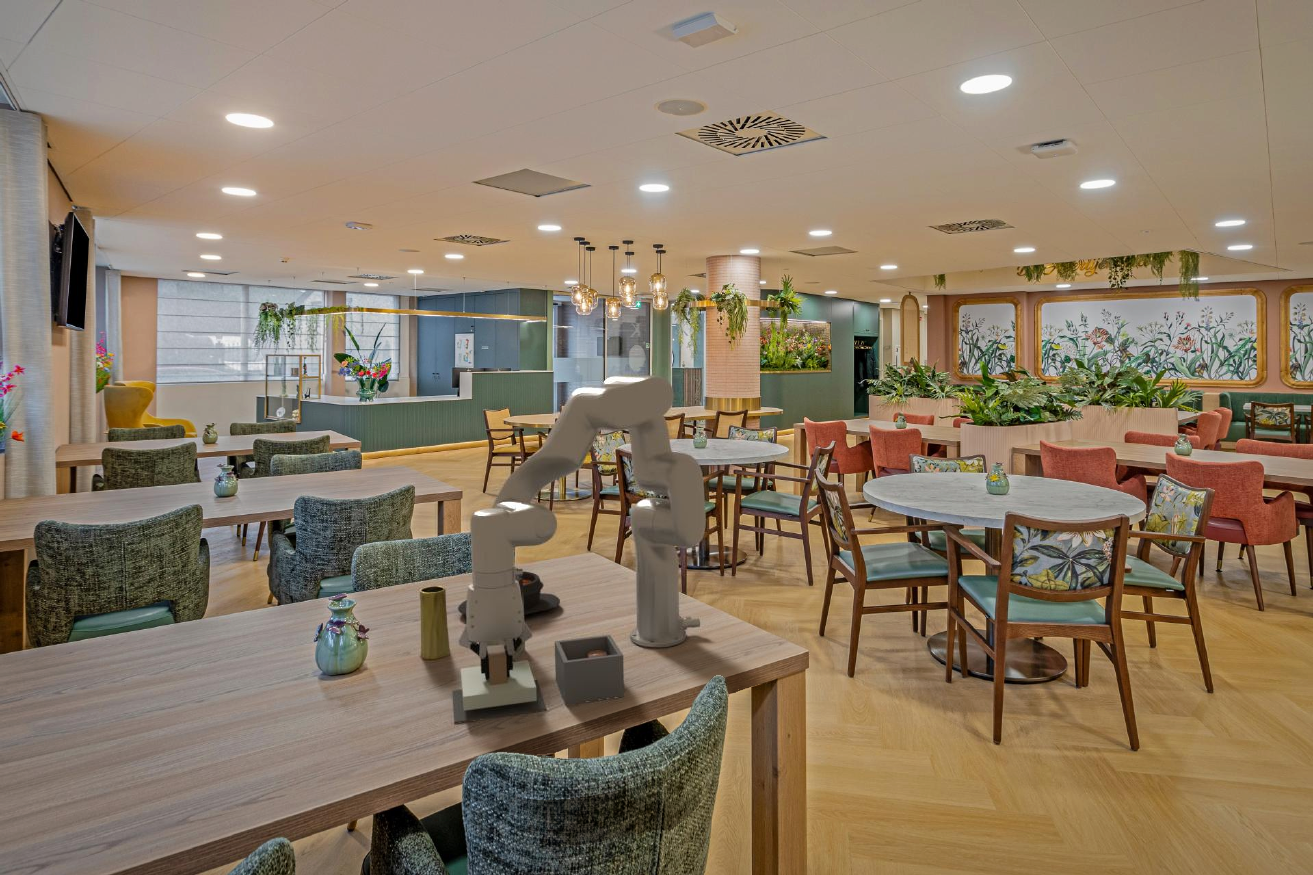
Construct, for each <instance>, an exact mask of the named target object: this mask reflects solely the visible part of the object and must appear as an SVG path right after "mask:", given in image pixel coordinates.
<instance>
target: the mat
mask: <svg viewBox="0 0 1313 875" xmlns="http://www.w3.org/2000/svg"><path fill="white" fill-rule="evenodd" d="M534 682H535V685H536V696H537V701H530V702H523V703H516V704H508V705H501V706H494V707H486V708H479V709H472V710H464V707H463V696H462V688H461V689H455V690H452V707H453V708H452V709H453V722H454V723H455V724H460V723H459V722H462V723H465V722H464V721H469V722H474V721H473V720H476V721H481V720H480V719H483V720H489V719H495V718H503V716H504V717H509V716H516V715H517V714H518V715H523V714H524V715H525V714H531V713H530V712H532V713H537V712H536V711H539V712H543V711H542V710H546V711H547V706H546V702H545V700H544V696H543V693H542V690H541V688H540V685H539V681H538V679H534ZM518 715H517V716H518Z"/></svg>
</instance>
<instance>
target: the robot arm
mask: <svg viewBox="0 0 1313 875" xmlns="http://www.w3.org/2000/svg"><path fill="white" fill-rule="evenodd" d="M674 395H675V394H674V389H673V387H672V385H671V383H670V382H669V381H668V380H667V379H666V378H665V377H662V376H659V375H655V374H654V375H652V374H651V375H649V374H648V375H647V374H644V375H643V374H641V375H640V374H639V375H637V374H620V375H619V374H617V375H616V374H615V375H612V376H609V377H608V378H606V379H605V380H603V382H602V384H601V386H583V387H578V388H576V389H575V390H574V391H572V393H571V394H570V396H569V397H568V399H567V400H566V402H565V404H564V406H563V407H562V409H561V411H560V413H559V415H558V416H557V418H556V421H555V423H554V424H553V426H552V428H551V429H550V431H549V434H548V435H547V437H546V439H545V441H544V442H543V443H542V444H543V445H542V446H541V447H540V448H539V449H538V450H537V451H536V452H534V453H533V454H531V456H530V457H528V458H527V459H525V461H524V462H523V463H522V464H520V465H519V466H518V467H517V468H515V470H514V471H513V472H512V473H511V474H510V475H509V476H508V478H507V479H506V480H505V482H504V484H503V485H502V487H501V489H500V490H499V492H498V494H497V496H496V498H495V500H494V502H493V505H492V506H491V508H484V509H483V508H482V509H479V510H476V511H474V512H473V513H472V515H471V517H470V522H469V524H470V547H471V548H470V550H471V571H472V572H471V573H472V574H471V575H472V576H471V577H472V583H470V584H468V588H467V594H466V600H467V603H466V615H465V616H466V618H465V622H466V623H465V624H466V625H465V628H464V630H463V631H462V633H461V635H460V637H459V639H458V644H459V646H460V647H463V648H465V649H469V650H471V651H472V652H473V653H474V654H475V655H477V656H478V657H479V658H480V666H481V674H484V673H485V678H486V680H487V679H489V658H488V654H487V651H486V648H487V642H488V641H497V640H505V641H506V648H505V653H506V664H507V677H510V670H513V662H514V661H513V654H514V652H515V651H516V649H517V648H518V647H519V646H520V645H521V644H522V643H523V642H525V643H526V642H527V641H528V640H529V639H531V638H532V637H533V633H532V631H531V630H530V628H529V626H528V625H527V622H525V616H523V605H522V598H521V591H520V586H519V582H518V581H517V580H515V579H517V577H519V576H523V571H524V569H523V568H518V567H516V566H515V549H516V548H517V547H533V546H540V545H543V544H546V543H547V542H548V541H550V540H551V539H552V538H553V537H554V536H555V534H556V532H557V528H558V521H557V520H558V519H557V517H556V515H555V514H554V512H553V511H552V510H550V509H549V508H548V507H546V506H543V505H541V504H536V503H532V501H533V499H534V498H535V497H536V496H537V495H538V493H539V492H541V490H542V489H543V488H545V487H546V486H548V485H549V484H551V483H553V482H554V481H557V480H559V479H562V478H564V477H565V478H566V477H568V476H569V475H571V474H573V473H575V472H577V471H579V470H580V469H581V467H582V466H583V465H584V463H585V460H586V458H587V456H588V454H589V452H590V450H591V449H592V446H593V445H594V443H595V440H596V439H597V437H598V435H599V434H600V432H601V431H611V432H617V431H624V430H627V431H628V435H629V440H630V448H631V460H632V461H631V464H632V474H633V480H634V484H635V485H636V488H637V489H638V490H640V491H642V492H645V493H647V494H653V495H658V496H665V497H668V498H669V499H666V498H659V497H646V498H643V499H641V500H639V501H638V502H637V503H636V504H635V505H634V507H633V508H632V511H631V513H630V521H629V522H630V528H631V534H632V538H633V544H634V550H635V594H636V595H635V597H636V598H635V599H636V602H635V603H636V627H634V628H633V629H631V631H630V632H629V638H630V640H631V641H632V642H633V643H634V644H636V645H639V646H642V647H648V648H668V647H674V646H677V645H680V644H681V643H683V642H684V641H685V640H686V638H687V631H686V630H688V628H690V629H691V628H700V627H701V620H700V618H692V617H691V616H684V617H682V616H680V588H679V586H680V580H679V579H680V576H679V575H680V573H679V572H680V571H679V570H680V567H679V566H680V564H679V563H680V562H679V561H680V560H679V557H678V552H677V549H676V548H682V549H690V548H691V549H692V548H694V547H696V546H697V545H698V544H700V542H702V540H703V538H704V535H705V531H706V524H707V523H706V522H707V520H706V519H707V518H706V517H707V516H706V515H707V514H706V503H705V502H706V500H705V499H706V498H705V486H704V477H703V476H704V475H703V470H702V468H701V466H700V464H699V462H698V461H697V460H696V458H695V457H694V456H692V455H690V454H688V453H683V452H675V451H673V450H672V448H671V441H670V434H669V433H670V432H669V427H668V423H667V420H666V418H665V416H664V415H666V414H667V413H668V412H669V411H670V410H671V407H672V405H673V403H674ZM513 638H514V639H513Z"/></svg>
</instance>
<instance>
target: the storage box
mask: <svg viewBox="0 0 1313 875" xmlns="http://www.w3.org/2000/svg"><path fill="white" fill-rule="evenodd" d="M554 662H555V665H554V669H555V683H556V682H557V683H556V685H557V688H558V690H559V692H560V696H561V695H562V696H561V698H562V701H563V700H564V701H563V703H564V706H568V705H567V704H570V705H576V704H582V703H583V702H584V703H587V702H586V701H591V702H596V701H595V700H598V701H600V700H599V699H605V700H608V699H607V698H612V699H616V698H615V697H619V698H624V697H625V680H624V678H625V677H624V670H625V669H624V668H625V667H624V654H623V652H622V651H621V649H620V648H619V646H618V645H617V644H616V642H615V640H614V639H613V637H612V636H611V634H604V635H595V636H587V637H580V638H569V639H561V640H555V641H554ZM584 703H583V704H584Z"/></svg>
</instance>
